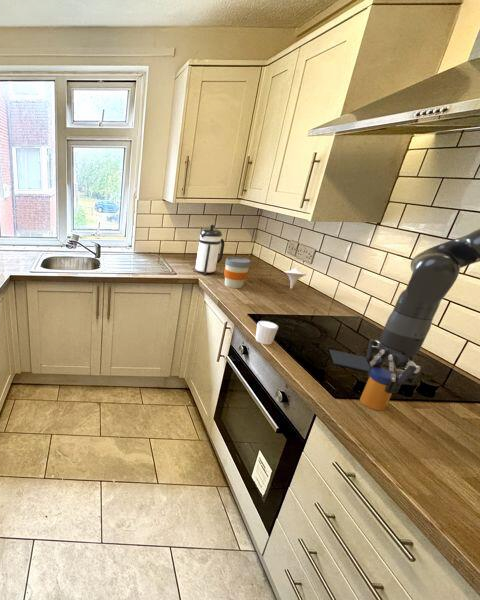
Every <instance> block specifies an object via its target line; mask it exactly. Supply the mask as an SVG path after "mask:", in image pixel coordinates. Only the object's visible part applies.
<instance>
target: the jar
mask: <svg viewBox="0 0 480 600" xmlns="http://www.w3.org/2000/svg"><path fill="white" fill-rule="evenodd" d="M386 387H387V385H385V384H382V383H379V382H377V381H375V380H374V379H372V378H371V377H370V376H369V378H368V377H367V381H366V383H365V386H364V387H363V390H362V392H361V395H360V398H359V401H360V403H361V404H362V405H364V407H367V408H369V409H372V410H374V411H375V410H376V411H384V410H386V408H387V405H388V404H389V402H390V399H391V397H392V395H393V393H387V392H386V391H385V389H386Z"/></svg>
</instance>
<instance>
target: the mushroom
mask: <svg viewBox="0 0 480 600" xmlns="http://www.w3.org/2000/svg"><path fill="white" fill-rule="evenodd" d="M283 272H284V274H286V276H287V277H288V279H289V283H290V284H289V289H290V290H292V289H293V287H294V286H295V284H296V283H297V282H298V281H299V280H300V279H301V278H303V277H305V276H307V275H308V273H305V272H303V271H300V270H299V269H298V267H294V268H293V269H291V270H286V271H283Z"/></svg>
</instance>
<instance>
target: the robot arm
mask: <svg viewBox="0 0 480 600" xmlns="http://www.w3.org/2000/svg"><path fill="white" fill-rule="evenodd" d="M478 262H479V263H480V228H479V229H476V230H474V231H472V232H470V233H468V234H466V235H463V236H461V237H457V238H454V239H450V240H448V241H445V242H443V243H440V244H437V245H435V246H432V247H430V248H427V249H425V250H422V251H421V252H419V253H418V254H417V255H415V256H414V257H413V258H412V259H411V262H410V266H409V267H410V270H411V272H412V273H411V277H410V278H409V281H408V283H407V286H406V288H405V289H403V290H402V291H401V292H400V294H399V296H398V298H397V300H396V303H395V305H394V307H393V310H392V311H391V313H390V314H389V316H388V318H387V320H386V322H385V325H384V328H383V330H382V332H381V333H380V337H379V340H378V339H370V340H369V341H368V345H367V350H366V353H365V358H366V360H367V361H369V366H370V368H369V370H368V372H367V375H366V378H367V379H368V378H369V376H370V375H369V374H370V371H371V370H372V368H374V367H380V368H382V367H383V366H384V365H386V364H387V365H388V370H389V371H390V372H391V380H389V383H388V385H387V387H386V389H385V391H386V392H387V393H392V394H397V393H398V392H399V391H400V388H401V386H402V385H409V386H411V385H413V384H414V383H415V382H416V380H417V379H418V378H419V376H421V374H422V373H423V372H424V369H425V368H424V366H422V365H418V364H416V363H415V362H414V356H415V355H416V354H417V353H418V352H420V351H421V348H422V346H423V344H424V342H425V340H426V338H427V336H428V334H429V332H430V330H431V328H432V324H433V320H434V319H435V316H436V314H437V312H438V309H439V307H440V305H441V303H442V300H443V299H444V298H445V296H446V295H447V294H448V293H449V291H450V290H451V289H452V287H453V286H454V284H455V282H456V281H457V279H458V277H459V275H460V270H461V268H464V267H467V266H470V265H473V264H475V263H478ZM397 374H398V375H399V377H397Z"/></svg>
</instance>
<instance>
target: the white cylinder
mask: <svg viewBox="0 0 480 600" xmlns="http://www.w3.org/2000/svg"><path fill="white" fill-rule="evenodd" d="M278 330H279V325H278V324H276V323H275V322H272V321H269V320H258V322H257V324H256V330H255V331H256V332H255V341H256V342H257V343H259V344H262V345H268V346H269V345H272V344H273V342H274V340H275V336H276V334H277V332H278Z"/></svg>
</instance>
